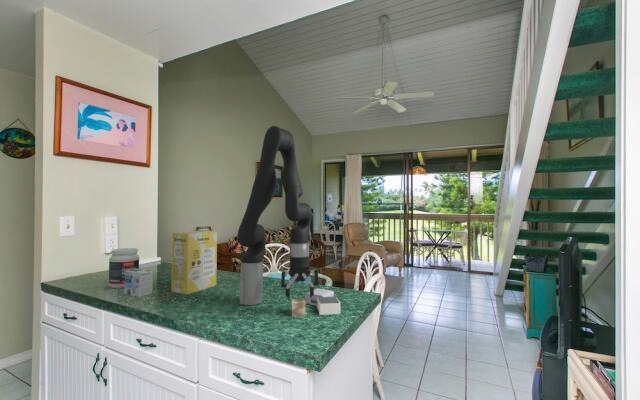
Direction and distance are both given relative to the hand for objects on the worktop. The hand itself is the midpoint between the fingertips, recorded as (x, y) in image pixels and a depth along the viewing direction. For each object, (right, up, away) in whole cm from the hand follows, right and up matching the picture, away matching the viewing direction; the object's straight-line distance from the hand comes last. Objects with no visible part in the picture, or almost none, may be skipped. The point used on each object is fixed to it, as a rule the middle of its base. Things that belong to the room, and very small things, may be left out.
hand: (299, 297), depth 113 cm
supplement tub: (-93, -7, +38) cm, 100 cm away
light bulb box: (-77, -7, +24) cm, 80 cm away
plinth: (+11, -6, +3) cm, 13 cm away
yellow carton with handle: (-55, -7, +34) cm, 65 cm away
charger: (+9, -7, +16) cm, 20 cm away
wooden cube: (-1, -6, 0) cm, 6 cm away
